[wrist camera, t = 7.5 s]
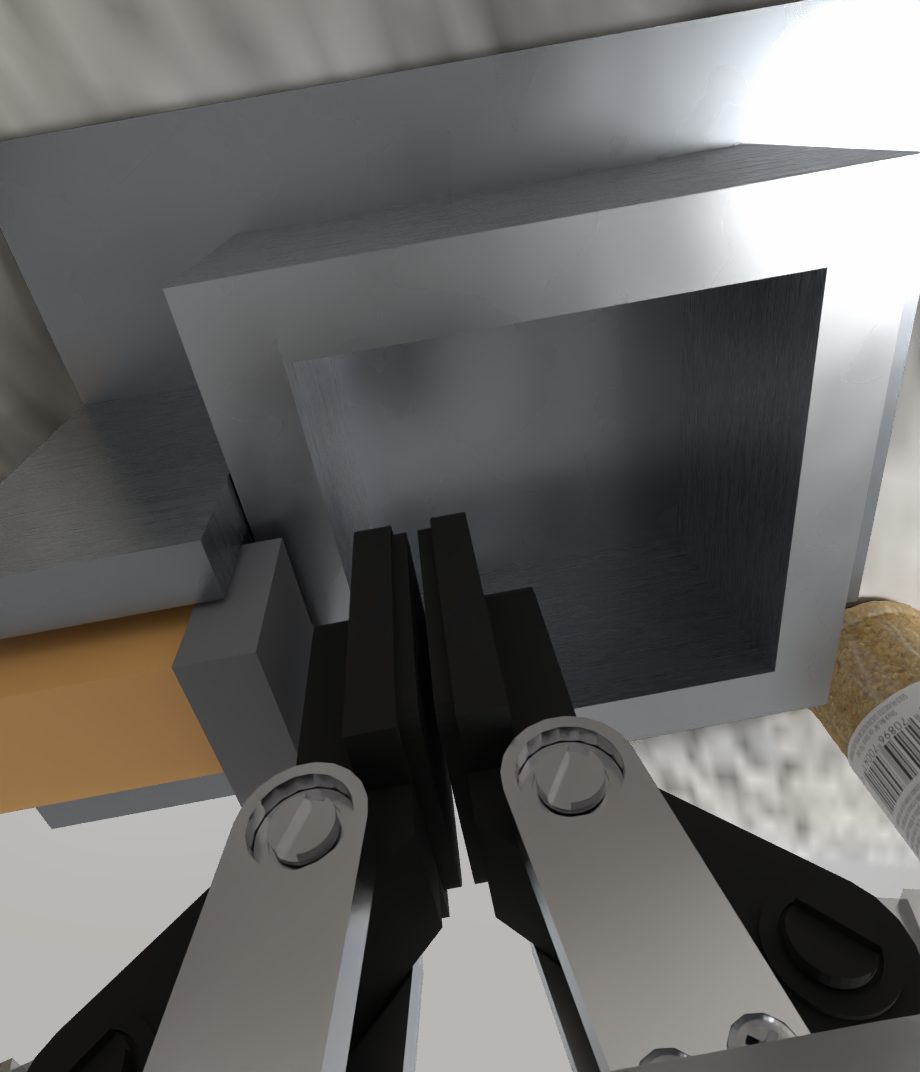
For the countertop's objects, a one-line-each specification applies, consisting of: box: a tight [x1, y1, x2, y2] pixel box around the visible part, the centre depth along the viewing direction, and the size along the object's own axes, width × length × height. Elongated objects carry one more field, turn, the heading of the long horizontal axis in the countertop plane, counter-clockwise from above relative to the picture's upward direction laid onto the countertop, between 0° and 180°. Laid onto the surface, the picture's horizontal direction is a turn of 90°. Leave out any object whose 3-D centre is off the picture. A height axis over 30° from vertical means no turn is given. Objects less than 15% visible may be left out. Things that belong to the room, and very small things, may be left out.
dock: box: [0, 0, 920, 829], centre depth 13 cm, size 18×14×8 cm
